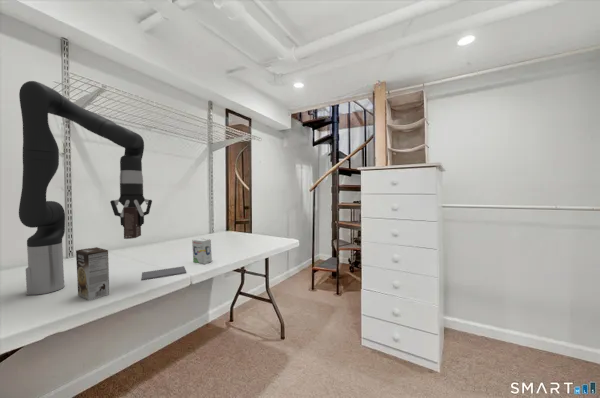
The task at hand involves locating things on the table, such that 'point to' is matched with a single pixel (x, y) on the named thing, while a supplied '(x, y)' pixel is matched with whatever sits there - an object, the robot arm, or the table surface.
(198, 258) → the ink box
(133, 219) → the box
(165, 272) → the mat
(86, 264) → the coffee box
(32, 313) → the table surface
